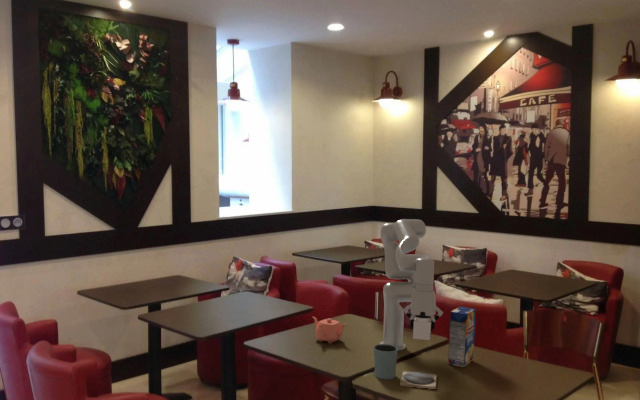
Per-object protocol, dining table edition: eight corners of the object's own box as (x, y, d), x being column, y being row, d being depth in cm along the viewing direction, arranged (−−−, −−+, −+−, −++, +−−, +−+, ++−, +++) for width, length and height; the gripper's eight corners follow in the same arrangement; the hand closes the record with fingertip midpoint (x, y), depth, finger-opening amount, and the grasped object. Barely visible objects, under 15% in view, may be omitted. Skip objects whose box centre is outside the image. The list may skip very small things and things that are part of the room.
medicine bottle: (430, 340, 240) (431, 311, 239) (413, 339, 241) (414, 310, 240) (430, 335, 247) (431, 307, 246) (413, 334, 248) (414, 306, 247)
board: (403, 373, 249) (403, 368, 249) (436, 377, 246) (436, 372, 246) (399, 385, 235) (400, 381, 235) (435, 390, 232) (435, 385, 232)
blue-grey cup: (390, 382, 239) (391, 353, 238) (368, 376, 244) (369, 348, 244) (400, 374, 248) (401, 346, 247) (379, 369, 253) (380, 342, 252)
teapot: (346, 344, 285) (347, 322, 284) (317, 345, 282) (318, 323, 281) (338, 335, 299) (339, 314, 298) (311, 336, 296) (312, 315, 295)
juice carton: (457, 357, 272) (460, 306, 270) (473, 360, 268) (476, 309, 266) (447, 364, 262) (450, 311, 260) (464, 368, 258) (466, 314, 256)
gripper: (402, 287, 241) (400, 330, 242) (445, 290, 237) (443, 334, 238) (403, 284, 248) (401, 325, 249) (445, 287, 244) (443, 329, 245)
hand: (422, 329), depth 244 cm, fingers closed on medicine bottle, 7 cm apart
